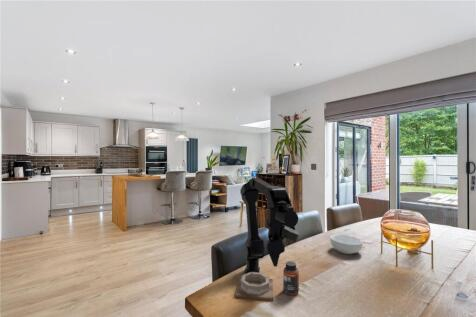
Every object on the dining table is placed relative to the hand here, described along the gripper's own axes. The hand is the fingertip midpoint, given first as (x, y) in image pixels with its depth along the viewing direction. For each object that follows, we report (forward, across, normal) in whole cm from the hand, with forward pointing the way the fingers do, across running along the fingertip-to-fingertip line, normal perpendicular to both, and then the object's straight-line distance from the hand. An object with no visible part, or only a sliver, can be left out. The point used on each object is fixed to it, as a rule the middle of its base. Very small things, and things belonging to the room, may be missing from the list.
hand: (275, 261), depth 91 cm
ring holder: (+13, +3, +8) cm, 15 cm away
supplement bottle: (+13, +3, -6) cm, 15 cm away
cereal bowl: (+13, +52, -39) cm, 66 cm away
